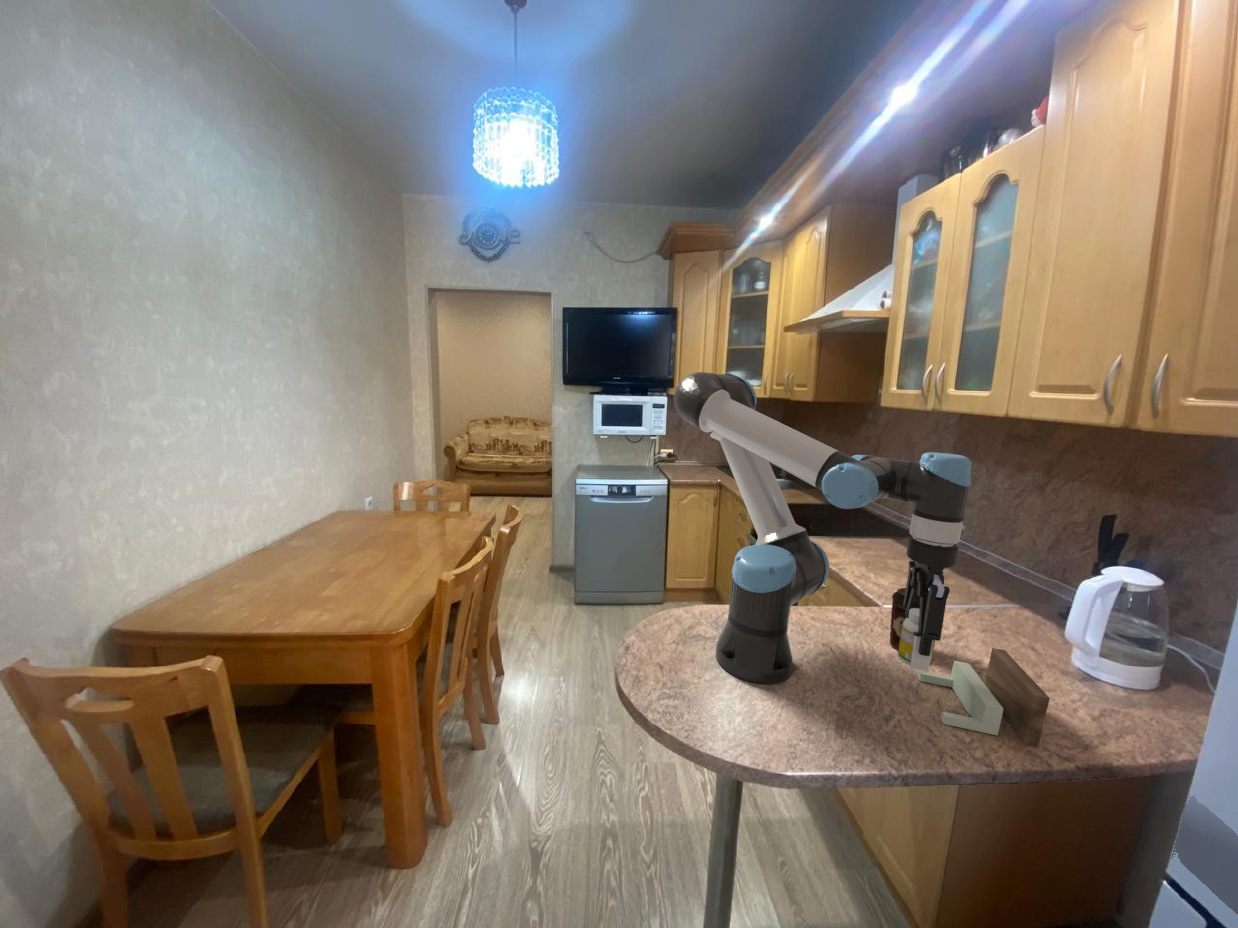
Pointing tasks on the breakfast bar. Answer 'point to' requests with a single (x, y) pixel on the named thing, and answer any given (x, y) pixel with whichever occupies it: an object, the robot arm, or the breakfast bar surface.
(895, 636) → the coffee cup
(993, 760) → the breakfast bar surface
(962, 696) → the slot block
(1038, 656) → the breakfast bar surface
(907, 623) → the supplement bottle
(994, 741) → the breakfast bar surface
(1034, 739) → the backstop wall
